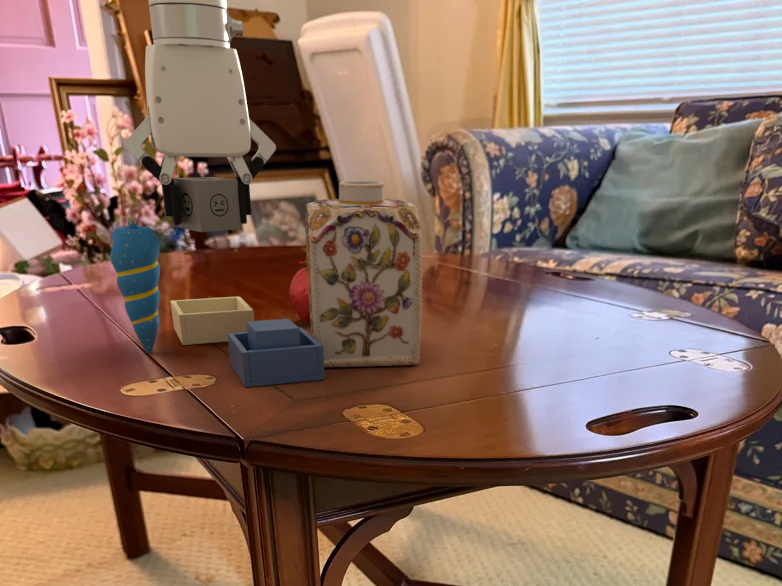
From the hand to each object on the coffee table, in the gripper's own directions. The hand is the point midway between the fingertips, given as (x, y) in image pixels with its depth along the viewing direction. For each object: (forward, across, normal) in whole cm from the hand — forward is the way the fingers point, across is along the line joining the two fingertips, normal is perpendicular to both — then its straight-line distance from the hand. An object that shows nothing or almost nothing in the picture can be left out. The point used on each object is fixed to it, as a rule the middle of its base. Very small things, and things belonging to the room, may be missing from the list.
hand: (209, 221), depth 85 cm
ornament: (+14, +8, +2) cm, 16 cm away
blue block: (+13, -4, +14) cm, 20 cm away
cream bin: (+13, 0, -4) cm, 14 cm away
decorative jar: (+14, -14, +10) cm, 22 cm away
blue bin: (+13, -4, +14) cm, 20 cm away
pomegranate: (+14, -15, -7) cm, 22 cm away
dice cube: (+1, 0, 0) cm, 1 cm away
